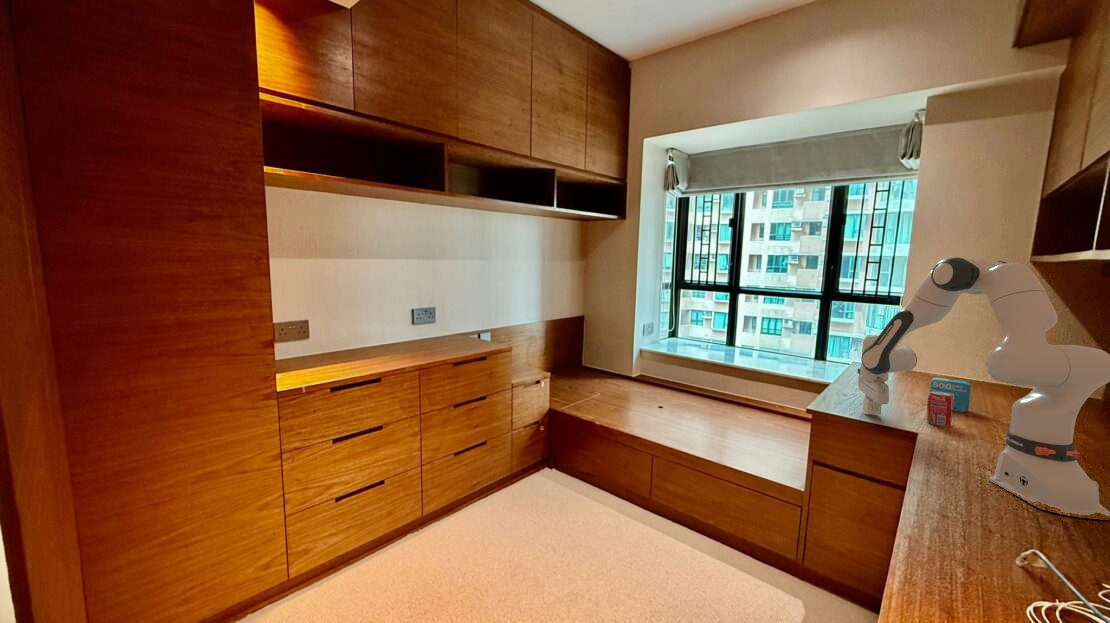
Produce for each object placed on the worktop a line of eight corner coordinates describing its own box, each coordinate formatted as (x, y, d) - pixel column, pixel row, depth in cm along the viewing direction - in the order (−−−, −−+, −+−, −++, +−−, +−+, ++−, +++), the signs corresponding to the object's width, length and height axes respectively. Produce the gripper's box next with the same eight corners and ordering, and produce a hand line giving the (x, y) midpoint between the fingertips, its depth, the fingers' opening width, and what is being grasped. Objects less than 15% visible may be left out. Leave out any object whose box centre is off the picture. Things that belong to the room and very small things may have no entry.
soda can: (940, 420, 163) (943, 390, 161) (956, 427, 156) (959, 396, 154) (920, 420, 163) (923, 390, 162) (935, 427, 156) (938, 395, 155)
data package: (928, 406, 179) (930, 378, 178) (929, 403, 182) (932, 376, 181) (967, 413, 170) (970, 384, 169) (968, 410, 173) (971, 382, 172)
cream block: (881, 414, 166) (881, 402, 166) (867, 413, 168) (868, 401, 167) (876, 410, 171) (877, 398, 170) (862, 409, 172) (863, 397, 172)
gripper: (895, 381, 157) (892, 417, 158) (873, 369, 176) (871, 401, 178) (875, 380, 159) (872, 416, 160) (855, 368, 178) (853, 400, 180)
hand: (872, 408), depth 169 cm, fingers closed on cream block, 5 cm apart
